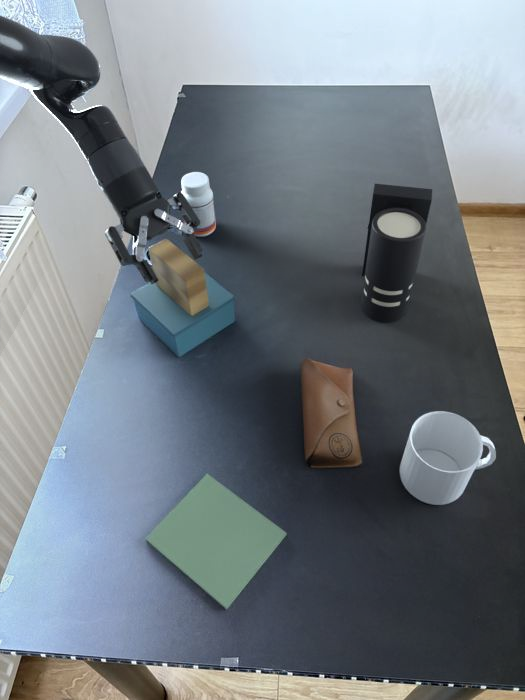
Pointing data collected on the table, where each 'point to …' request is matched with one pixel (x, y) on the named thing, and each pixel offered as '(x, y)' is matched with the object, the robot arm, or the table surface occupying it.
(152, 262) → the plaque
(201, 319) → the toy box
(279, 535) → the mat
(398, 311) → the light fixture
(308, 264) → the table surface
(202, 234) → the pill bottle
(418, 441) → the mug
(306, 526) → the table surface
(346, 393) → the sunglasses case
